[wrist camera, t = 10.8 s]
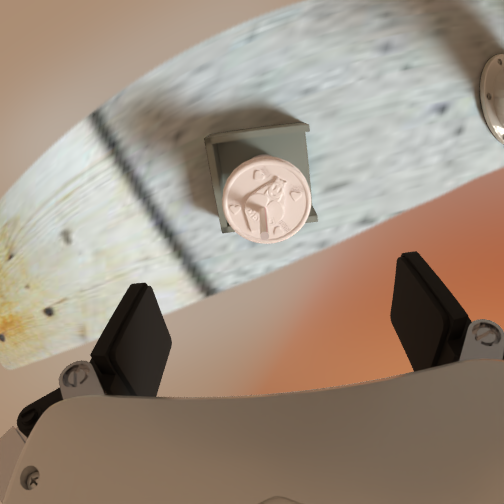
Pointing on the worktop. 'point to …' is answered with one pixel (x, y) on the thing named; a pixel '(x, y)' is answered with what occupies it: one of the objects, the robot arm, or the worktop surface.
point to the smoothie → (266, 199)
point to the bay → (250, 145)
